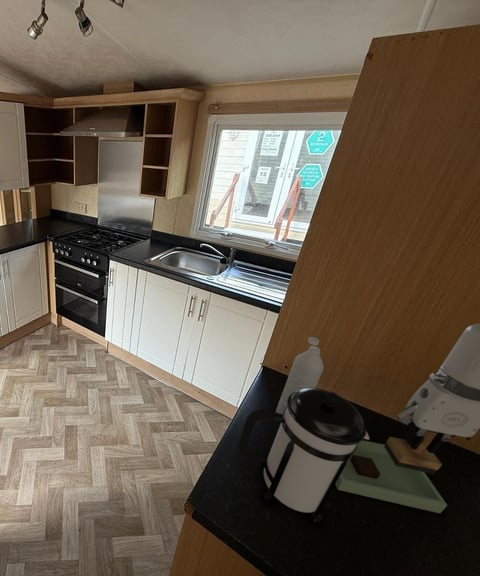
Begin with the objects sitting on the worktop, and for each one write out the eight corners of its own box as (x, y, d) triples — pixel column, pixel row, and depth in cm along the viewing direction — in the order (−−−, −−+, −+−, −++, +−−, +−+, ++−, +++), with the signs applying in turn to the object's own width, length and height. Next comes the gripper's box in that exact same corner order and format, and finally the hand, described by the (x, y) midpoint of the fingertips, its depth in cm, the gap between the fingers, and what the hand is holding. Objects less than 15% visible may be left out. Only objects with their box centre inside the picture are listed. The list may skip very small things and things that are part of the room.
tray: (402, 457, 79) (408, 449, 78) (440, 513, 68) (447, 505, 66) (316, 439, 84) (320, 431, 82) (337, 489, 72) (342, 481, 71)
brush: (419, 453, 73) (442, 422, 68) (434, 474, 69) (460, 442, 64) (383, 446, 75) (403, 415, 70) (395, 466, 70) (418, 434, 66)
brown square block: (368, 463, 77) (371, 458, 76) (377, 479, 74) (380, 473, 73) (350, 459, 78) (352, 454, 77) (357, 474, 75) (360, 469, 74)
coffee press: (287, 450, 81) (325, 359, 68) (345, 516, 67) (407, 417, 54) (229, 466, 77) (257, 372, 64) (277, 539, 63) (326, 438, 50)
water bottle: (301, 430, 86) (331, 359, 75) (274, 421, 89) (300, 351, 78) (299, 408, 93) (328, 340, 82) (275, 400, 96) (299, 333, 85)
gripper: (426, 388, 60) (385, 451, 68) (533, 406, 56) (475, 470, 64) (403, 363, 66) (367, 424, 75) (497, 378, 63) (449, 440, 71)
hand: (418, 445), depth 69 cm, fingers closed on brush, 2 cm apart
